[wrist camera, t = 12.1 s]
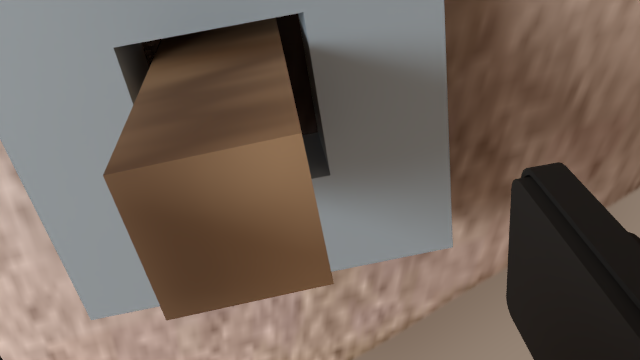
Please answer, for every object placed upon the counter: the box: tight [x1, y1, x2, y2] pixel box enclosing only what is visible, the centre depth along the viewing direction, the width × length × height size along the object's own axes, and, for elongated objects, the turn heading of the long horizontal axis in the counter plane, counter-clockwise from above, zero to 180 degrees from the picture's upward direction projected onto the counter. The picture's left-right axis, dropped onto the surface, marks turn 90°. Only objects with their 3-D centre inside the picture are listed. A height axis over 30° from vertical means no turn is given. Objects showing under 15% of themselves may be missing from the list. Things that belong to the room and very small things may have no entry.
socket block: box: [0, 0, 453, 320], centre depth 19 cm, size 14×14×4 cm
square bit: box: [103, 17, 334, 320], centre depth 16 cm, size 4×4×10 cm
